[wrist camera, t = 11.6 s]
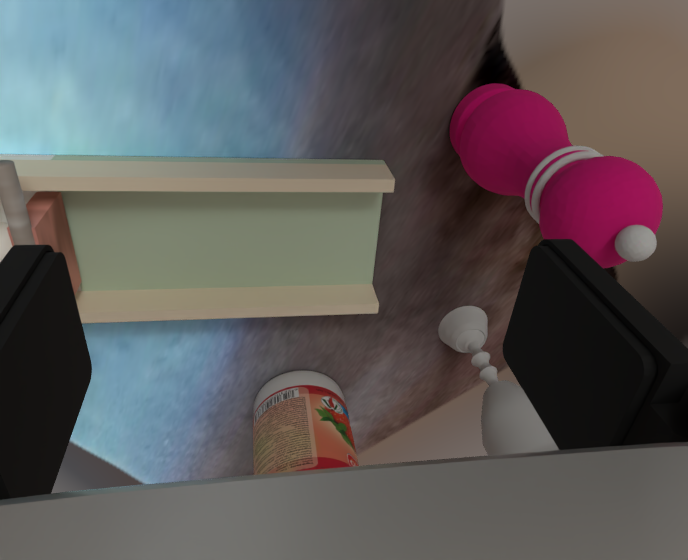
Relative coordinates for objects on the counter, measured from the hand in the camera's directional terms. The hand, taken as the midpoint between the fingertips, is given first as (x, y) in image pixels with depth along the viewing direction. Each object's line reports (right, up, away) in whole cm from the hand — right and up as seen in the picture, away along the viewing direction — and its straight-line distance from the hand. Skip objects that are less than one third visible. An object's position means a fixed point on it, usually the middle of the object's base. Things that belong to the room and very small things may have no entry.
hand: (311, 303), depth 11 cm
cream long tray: (-12, +4, +31) cm, 34 cm away
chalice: (+12, -4, +42) cm, 44 cm away
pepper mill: (+12, +13, +31) cm, 35 cm away
